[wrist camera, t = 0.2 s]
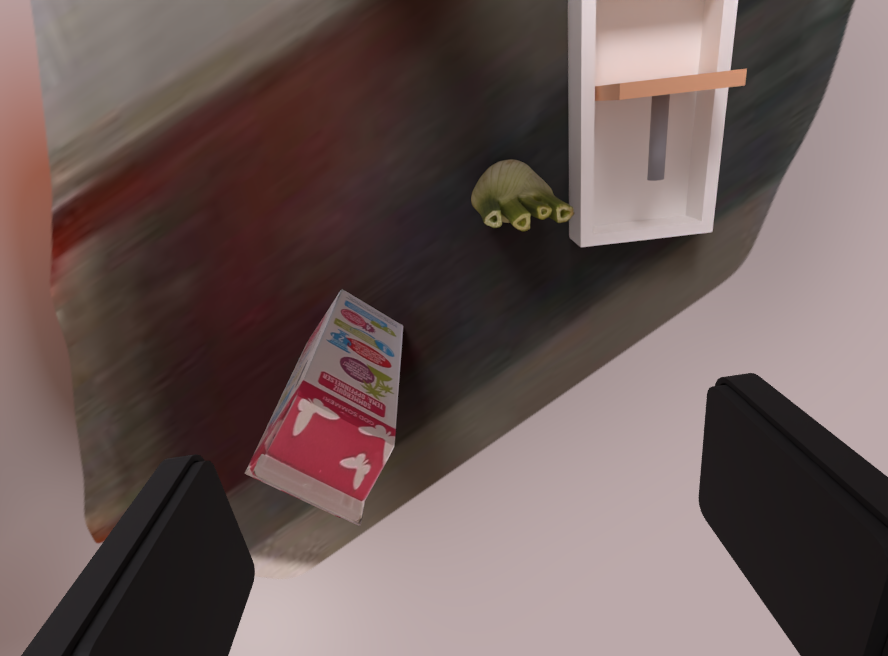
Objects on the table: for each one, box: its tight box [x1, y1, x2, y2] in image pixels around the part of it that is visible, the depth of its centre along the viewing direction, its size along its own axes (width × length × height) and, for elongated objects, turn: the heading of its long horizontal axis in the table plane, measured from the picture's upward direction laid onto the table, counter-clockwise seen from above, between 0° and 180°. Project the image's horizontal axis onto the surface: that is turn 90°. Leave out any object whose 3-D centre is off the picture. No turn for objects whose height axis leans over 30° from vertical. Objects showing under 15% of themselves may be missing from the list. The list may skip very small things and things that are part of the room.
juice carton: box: [245, 289, 403, 526], centre depth 38 cm, size 7×7×22 cm
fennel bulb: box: [471, 159, 574, 232], centre depth 37 cm, size 6×5×12 cm
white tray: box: [568, 0, 738, 247], centre depth 39 cm, size 19×11×4 cm, turn 6°
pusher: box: [595, 69, 747, 181], centre depth 37 cm, size 7×8×7 cm
